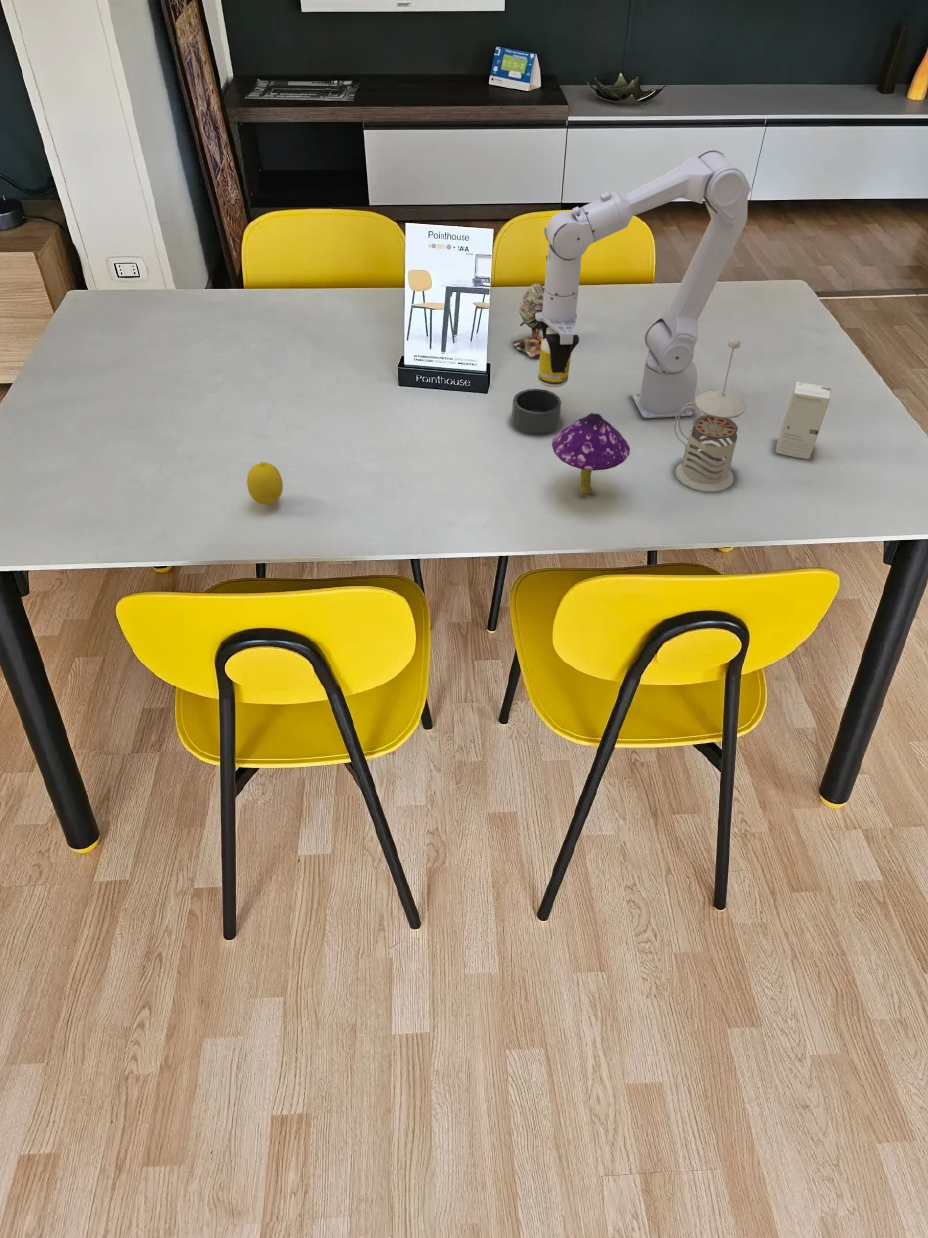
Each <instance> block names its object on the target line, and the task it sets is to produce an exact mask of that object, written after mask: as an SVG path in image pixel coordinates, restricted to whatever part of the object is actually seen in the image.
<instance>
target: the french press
mask: <svg viewBox="0 0 928 1238" xmlns="http://www.w3.org/2000/svg"><path fill="white" fill-rule="evenodd" d="M727 347H729V348H731V353H730V357H729V361H728V366H727V371H726V376H725V379H724V384H723V385H724V386H723V389H720V390H719V389H718V390H717V389H716V390H708V391H704V392H701V393H700V394H699V395H697V396H696V398H695V400H694V401H693V402H690V403H688V404H686V405H685V406H684V407H683V408H682V409H681V410H680V412H679V413H678V414H677V416H676V417H674V423H673V430H674V433H675V434H674V435H675V436H676V438H677V439H678V441H680V442H681V443H682V444H683V446H685V449H684V454H683V459H682V462H681V463H680V464H678V465H676V469H675V471H674V472H675V475H676V478H677V479H678V480H679V481H680V482H681V483H682V484H683V485H684V486H687V487H689V488H690V489H693V490H696V491H701V492H719V491H723V490H727V488H729V487H730V486H731V485H733V481H734V476H733V473H732V471H731V470H730V469H731V465H732V461H733V457H734V452H735V449H736V446H737V440H738V434H737V432H738V429H739V428H738V425H737V423H736V422H735V421H733V420H732V419H734V418H735V419H736V418H739V417H740V416H741V415H743V414H744V413H745V411H746V410H747V405H746V403H745V400H743V399H741V397H739V396H738V395H736V394H735V393H733V392H730V391H727V390H726V391H725V389H726V384H727V381H728V377H729V371H730V368H731V362H732V359H733V354H734V350H735V349H739V348H741V341H740V339H739V338H738V337H732V338H730V339H728V341H727ZM690 404H695V405H696V407H695V406H693V405H692V406H688V405H690ZM686 406H688V407H686ZM691 407H692V415H693V414H694V415H695V414H696V413H697V412H698V410H699V411H701V412H702V414H703V415H699V416H698V417H697V418H695V419H694V422H693V426H692V429H690V430H689V434H688V437H687V436H686V435H685V434H684V432H683V431H682V429H681V425H680V419H681V416H680V415H681V412H682V411H683V410H685V409H686V408H691ZM678 415H679V416H678ZM677 426H678V431H679V432H680V434H681V435H682V436H683V438H685V439H686V441H687V444H686V443H685V442H684V441H683V440H682V439H681V438H680V436H679V435H678V433H677ZM703 436H704V437H703ZM701 437H703V438H701ZM728 439H729V440H730V442H731V443H730V442H729V440H728ZM722 440H723V442H722ZM708 441H712V442H715V443H718V444H719V445H716V444H715V443H711V442H708ZM703 442H708V443H703ZM724 443H725V444H726V445H725V444H724ZM723 458H724V459H723Z"/></svg>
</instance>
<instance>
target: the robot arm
mask: <svg viewBox="0 0 928 1238" xmlns="http://www.w3.org/2000/svg"><path fill="white" fill-rule="evenodd" d="M751 190H752V188H751V185H750V183H749V181H748V179H747V177H746V174H745V173H744V172H743V170H742V169H740V168H738V167H737V166H735V165H734V164H733V163H732V162H731V161H730V160H729V159H728V158H726V156H725V155H724V153H723V152H721V151H719V150H718V149H707V150H704V151H702V152H700V153H699V154H698V155H693V156H690V157H688V158H685V160H684V161H683V162H682V163H681V164H680V165H678V166H677V167H675V168H673V169H671V170H669V171H668V172H666V173H664V174H662V175H660V176H658V177H656V178H655V179H652V180H651V181H649V182H646V183H645V184H643V185H641V186H639V187H638V188H636V189H634V190H632V191H630V192H628V193H627V194H622V193H619V192H617V191H613V192H610V193H609V192H608V191H605V192H603V193H601V194H600V195H599V197H600V198H597V199H596V200H594V201H592V202H590V203H587V204H585V205H583V206H581V207H579V206H576V207H573V208H572V209H571V210H572V212H571V211H560V212H557V213H556V214H554V215H553V216H552V217H551V218H550V220H548V222H547V224H546V227H544V228H543V230H544V236H545V239H546V241H547V242H548V243H549V244H548V246H547V255H548V257H547V258H546V260H547V261H546V263H545V274H544V275H545V277H544V287H543V288H544V300H543V310H542V312H538V313H536V314H535V318H536V320H537V321H539V322H540V325H541V329H542V330H541V334H542V337H543V340H544V339H545V338H546V340H547V342H548V345H549V349H550V360H551V369H552V372H553V373H563V372H564V371H565V368H566V365H567V363H568V360H569V357H570V355H571V356H572V353H573V351H574V349H575V348H576V347H577V345H579V342H580V337H579V335H578V334H574V329H575V326H576V323H577V320H578V319H577V318H578V314H577V309H578V307H577V306H578V299H579V297H578V296H579V287H580V278H581V269H582V256H583V255H584V254H585V253H586V251H587V249H588V247H589V246H590V245H592V244H595V243H596V242H598V241H600V240H602V239H605V238H606V237H608V236H611V235H614V234H616V233H618V232H620V231H622V230H624V229H626V228H627V227H628V226H629V224H630V222H631V220H632V218H633V217H634V216H637V215H639V214H642V213H644V212H647V211H649V210H652V209H655V208H658V207H660V206H663V205H665V204H667V203H670V202H673V201H675V200H677V199H684V200H687V201H691V202H694V203H697V204H705V205H706V209H707V211H708V213H709V215H710V221H709V223H708V226H707V228H706V230H705V232H704V234H703V236H702V238H701V240H700V241H699V244H698V247H697V249H696V250H695V252H694V254H693V257H692V259H691V261H690V263H689V266H688V268H687V269H686V272H685V274H684V276H683V278H682V280H681V282H680V284H679V287H678V289H677V291H676V292H675V295H674V297H673V299H672V301H671V303H670V305H669V306H668V307H665V308H663V309H662V310H660V312H659V313H658V315H657V317H656V319H655V320H653V322H652V323H650V324H649V326H648V327H647V329H646V330H645V333H644V343H645V346H647V348H648V351H647V355H646V358H645V363H644V370H643V375H642V381H641V388H640V393H638V394H633V395H632V400H633V401H634V403H635V405H636V407H637V409H638V411H639V413H640V415H641V417H642V418H643V419H659V418H675V417H676V416H677V414H678V413H679V412H680V410H681V409H682V408H683V407H684V406H685V405H686V404H688V403H690V402H694V401H695V400H694V399H695V394H696V391H697V385H698V370H697V366H696V364H695V362H693V359H694V356H695V346H696V343H697V341H698V339H699V329H698V327H699V326H698V320H699V319H700V317H701V315H702V313H703V311H704V308H705V307H706V305H707V302H708V300H709V299H710V296H711V294H712V292H713V290H714V288H715V286H716V285H717V282H718V280H719V279H720V277H721V274H722V272H723V270H724V268H725V266H726V265H727V262H728V260H729V258H730V256H731V254H732V252H733V250H734V248H735V246H736V245H737V243H738V241H739V238H740V236H741V234H742V232H743V231H744V229H745V226H746V224H747V221H748V203H749V194H750V192H751ZM549 326H550V327H551V328H552V329H553V330H555V331H556V332H557V334H546V331H547V328H548V327H549ZM693 404H694V403H693ZM693 404H690V405H688V406H693ZM688 406H686V407H688ZM691 416H693V408H692V407H691V408H686V409H685V410H683V411H682V412H681V415H680V417H691ZM678 417H679V415H678Z"/></svg>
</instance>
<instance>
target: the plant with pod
mask: <svg viewBox="0 0 928 1238" xmlns="http://www.w3.org/2000/svg"><path fill="white" fill-rule="evenodd" d="M547 257H548V254H547V255H546V256H545V258H546V262H547ZM540 282H541V283H542V282H543V280H540ZM543 300H544V287H543V286H542V284H540V283H537V282H536V283H533V284H531V285H530V287H529V288H527V290H526V291H525V293H524V295H523V297H522V298H521V302H520V305H519V310H518V311H519V315H520V317H521V319H522V321H521V322H520V323H519V326H520V327H523V326H524V325H526V326H527V327H529V328H530V329H531V336H526V337H524V339H523V340H522V339H519V340H517V341H512V345H513V346H514V347H515V348H516V350H517V351H518V350H519V351H523V353H526V354H527V355H528V356H529V357H530V358H534V357H537V356H538V355H540V352H541V343H542V341H543V336H541V335H540V333H542V329H541V325H540V322H539V321H537V320H536V318H535V314H536V313H538V312H542V310H543Z"/></svg>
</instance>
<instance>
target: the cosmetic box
mask: <svg viewBox="0 0 928 1238" xmlns="http://www.w3.org/2000/svg"><path fill="white" fill-rule="evenodd" d="M831 390H832V389H831V387H828V386H823V385H819V384H814V383H807V382H801V381H795V382H794V385H793V388H792V393H791V395H790V398H789V401H788V405H787V408H786V411H785V415H784V418H783V421H782V425H781V428H780V431H779V434H778V438H777V441H776V448H775V453H776V454H778V455H783V456H787V457H793V458H798V459H802V460H809V459H811V457H812V453H813V450H814V448H815V444H816V441H817V439H818V435H819V433H820V429H821V428H822V427H821V426H822V423H823V421H824V418H825V415H826V412H827V409H828V406H829V405H830V400H831Z"/></svg>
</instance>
